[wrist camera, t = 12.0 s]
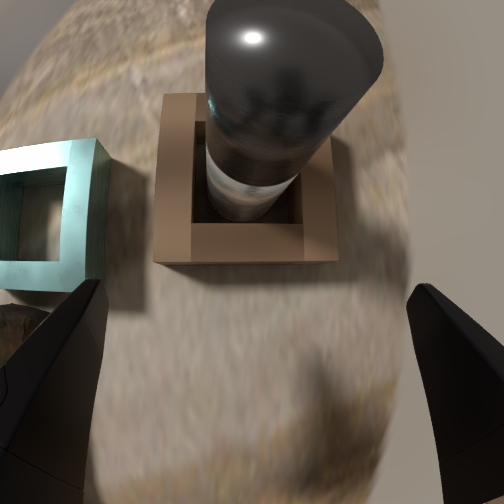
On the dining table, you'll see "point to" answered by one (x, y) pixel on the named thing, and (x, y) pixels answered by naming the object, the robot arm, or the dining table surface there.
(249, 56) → the grey and white cylinder
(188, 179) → the frame
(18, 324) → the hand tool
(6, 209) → the socket block
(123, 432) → the dining table surface
